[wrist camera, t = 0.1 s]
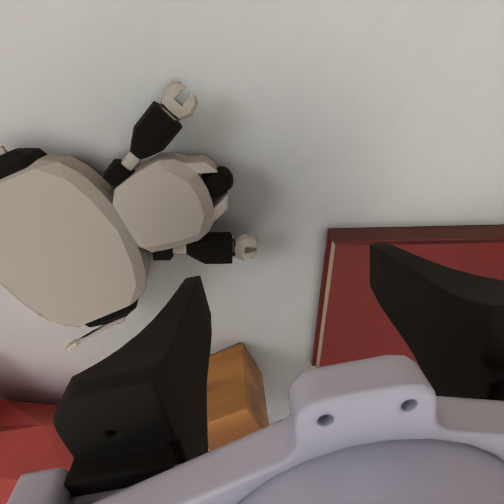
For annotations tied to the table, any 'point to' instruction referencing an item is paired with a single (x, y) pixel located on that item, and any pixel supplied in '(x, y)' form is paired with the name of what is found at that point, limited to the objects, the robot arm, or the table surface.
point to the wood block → (234, 396)
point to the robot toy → (109, 221)
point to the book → (362, 297)
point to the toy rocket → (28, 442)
